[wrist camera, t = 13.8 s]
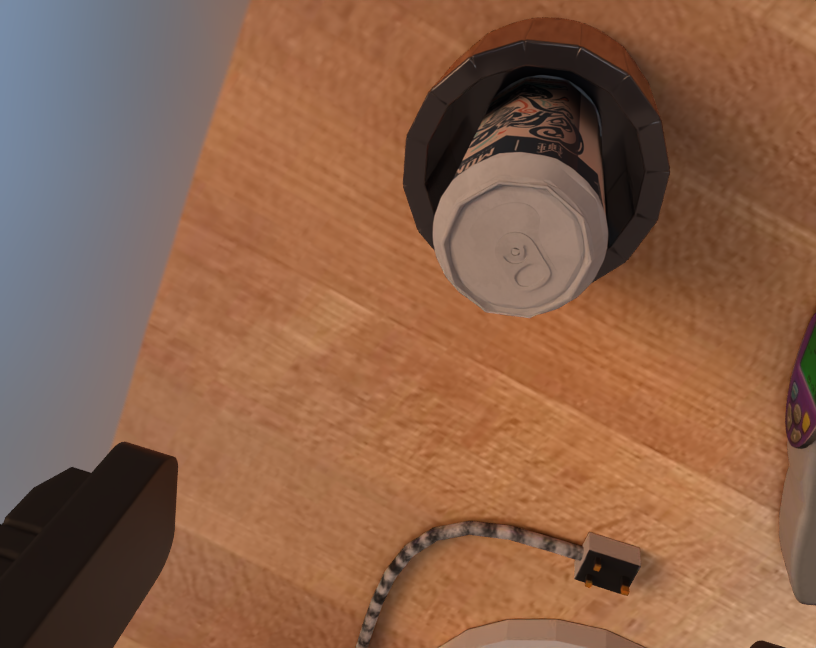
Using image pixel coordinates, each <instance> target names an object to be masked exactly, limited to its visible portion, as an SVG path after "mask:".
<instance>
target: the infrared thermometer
mask: <svg viewBox="0 0 816 648" xmlns="http://www.w3.org/2000/svg"><path fill="white" fill-rule="evenodd" d="M785 422H786V433H787V438H788V441H787V450H788V458H789V468H788V471H787V474H786V479H785V483H784V488H783V495H782V501H781V507H780V514H779V538H780V544H781V550H782V554H783V558H784V562H785V565H786V569H787V573H788V576H789V580H790V583H791V587H792V590H793V593H794V595H795V597H796V599H797V600H798V601H799V602H800V603H802V604H807V605H816V313H815V314H814V315H813V317H812V319H811V321H810V323H809V325H808V327H807V330H806V332H805V335H804V337H803V340H802V343H801V345H800V348H799V351H798V354H797V357H796V361H795V364H794V368H793V372H792V376H791V380H790V385H789V391H788V396H787V404H786V418H785Z"/></svg>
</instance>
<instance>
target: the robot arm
mask: <svg viewBox="0 0 816 648" xmlns="http://www.w3.org/2000/svg"><path fill="white" fill-rule="evenodd" d="M177 475H178V463H177V459H176V458H175V457H173V456H170V455H167V454H163V453H160V452H157V451H154V450H150V449H147V448H144V447H141V446H137V445H134V444H131V443H128V442H121V443H119V444H118V445H116V446H115V447H114V448H113V449H112V450H111V451H110V452H109V454H108V455H107V456H106V457H105V458H104V460H102V462H101V463H100V464H99V465H98V466H97V467H96V468H95V470H94V471H93V472H92V473H90V472H86V471H83V470H80V469H77V468H74V467H71V468H69V469H67V470H65V471H63V472H62V473H60V474H58V475H56V476H54V477H53V478H51V479H49V480H47V481H45V482H43V483H41V484H40V485H38V486H36V487H34V488H33V489H32V490H31V491H30V492H29V493H28V494H27V495H26V496H25V497H24V499H22V500H21V502H20V503H19V504H18V505H17V506H16V507H15V508H14V509H13V510H12V511H11V512H10V513H9V514H8V515H7V516H6V517H5V520H4V523H3V524H2V525H1V524H0V648H113V647H114V645H115V644H116V642H117V641H118V639H119V637H120V636H121V634H122V633H123V631H124V630H125V628H126V626H127V625H128V623H129V622H130V620H131V619H132V617H133V616H134V614H135V612H136V611H137V609H138V608H139V606H140V605H141V603H142V601H143V600H144V598H145V597H146V595H147V594H148V592H149V591H150V589H151V587H152V586H153V584H154V583H155V581H156V580H157V578H158V576H159V575H160V573H161V571H162V569H163V567H164V565H165V562H166V560H167V558H168V555H169V552H170V549H171V546H172V542H173V538H174V531H175V513H176V494H177ZM750 648H785V647H782V646H778V645H775V644H772V643H769V642H765V641H757V642H755V643H754V644H753V645H752V646H751V647H750Z"/></svg>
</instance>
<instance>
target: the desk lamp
mask: <svg viewBox="0 0 816 648" xmlns="http://www.w3.org/2000/svg"><path fill="white" fill-rule="evenodd" d="M465 535H476V536H484V537H492V538H500V539H508V540H512V541H515V542H519V543H522V544H526V545H529V546H533V547H536V548H540V549H543V550H546V551H550V552H553V553H556V554H560V555H563V556H566V557H569V558H572V559H575V571H574V579H576V580H579V581H582V582H585V587H588V588H590V587H591V586H592V585H594V586H597V587H600V588H604V589H607V590H610V591H613V592H616V593H619V594H622V595H626V596H628V594H629V587H630V585H631V583H632V581H633V580H634V578H635V576H636V574H637V573H638V571H639V569H640V567H641V559H640V548H638V547H634V546H631V545H628V544H625V543H622V542H619V541H616V540H612V539H609V538H606V537H603V536H600V535H597V534H594V533H590V532H589V533H588V535H587V537H586V539H585V542H584V544H583V546H578V545H575V544H572V543H569V542H566V541H563V540H559V539H556V538H553V537H549V536H546V535H542V534H539V533H535V532H532V531H528V530H525V529H521V528H518V527H514V526H510V525H501V524H493V523H484V522H476V521H466V522H460V523H455V524H450V525H444V526H439V527H434V528H432V529H430V530H429V531H427V532H426V533H424V534H422V535H421V536H419V537H418V538H416V539H415V540H413V541H411V542H410V543H408V544H407V545H405V546H404V548H403V549H402V550H401V552H400V553H399V554H398V555H397V557H396V558H395V559H394V560H393V562H392V563H391V564H390V565H389V567H388V568H387V569H386V571H385V572H384V574H383V576H382V578H381V580H380V583H379V585H378V587H377V589H376V591H375V593H374V595H373V597H372V599H371V602H370V605H369V608H368V611H367V614H366V616H365V619H364V622H363V625H362V628H361V632H360V635H359V638H358V642H357V645H356V648H368V646H369V643H370V640H371V636H372V633H373V630H374V627H375V624H376V622H377V619H378V616H379V613H380V611H381V608H382V605H383V603H384V601H385V599H386V597H387V595H388V593H389V591H390V589H391V587H392V585H393V583H394V581H395V579H396V577H397V576H398V575H399V573H400V572H401V571H402V570H403V568H404V567H405V566H406V565H407V563H408V562H409V561H410V560H411V558H412V557H413V556H414V555H416V554H417V553H419V552H420V551H422V550H424V549H425V548H427V547H428V546H430V545H432V544H433V543H435V542H436V541H438V540H443V539H449V538H454V537H460V536H465ZM439 648H644V647H642V646H640V645H638V644H636V643H633V642H631V641H629V640H627V639H625V638H622V637H620V636H618V635H616V634H614V633H611V632H609V631H607V630H604V629H599V628H594V627H590V626H585V625H580V624H576V623H571V622H566V621H562V620H557V619H516V620H505V621H501V622H497V623H493V624H489V625H485V626H481V627H476V628H472V629H468V630H466V631H465V632H463V633H462V634H460V635H458V636H457V637H455V638H453V639H452V640H450V641H449V642H447V643H445V644H444V645H442V646H440V647H439Z"/></svg>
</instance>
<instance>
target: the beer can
mask: <svg viewBox="0 0 816 648" xmlns="http://www.w3.org/2000/svg"><path fill="white" fill-rule="evenodd" d="M607 244H608V226H607V221H606V214H605V194H604V175H603V156H602V125H601V120H600V115H599V113H598V111H597V108H596V106H595V104H594V103H593V101H592V100H591V98H590V97H589V96H588V95H587V94H586V93H585V92H584V91H583V90H582V89H581V88H580V87H578V86H576V85H575V84H573V83H572V82H570V81H568V80H565V79H563V78H560V77H554V76H547V75H537V76H531V77H525V78H522V79H520V80H518V81H516V82H514V83H512V84H510V85H509V86H507V87H506V88H505V89H503V90H502V91H501V92H499V93H498V94H497V95H496V96H495V97H494V98H493V100H492V101H491V102H490V104H489V106H488V107H487V109H486V111H485V114H484V117H483V120H482V122H481V124H480V126H479V128H478V130H477V132H476V134H475V136H474V138H473V140H472V142H471V144H470V146H469V148H468V150H467V152H466V154H465V156H464V158H463V160H462V162H461V164H460V166H459V168H458V170H457V172H456V174H455V176H454V178H453V180H452V182H451V183H450V185H449V186H448V188H447V189H446V191H445V192H444V194H443V195H442V197H441V199H440V202H439V205H438V208H437V210H436V213H435V216H434V222H433V245H434V249H435V253H436V258H437V260H438V262H439V264H440V266H441V268H442V270H443V272H444V274H445V276H446V278H447V279H448V280H449V281H450V282H451V283H452V285H453V286H454V287H455V288H456V289H457V290H458V291H459V292H460V293H461V294H462V295H464V296H465V297H467V298H468V299H469V300H470V301H472V302H474V303H475V304H476V305H478V306H479V307H480V308H481V309H482V310H484V311H485V312H488V313H495V314H502V315H509V316H518V317H526V318H531V317H533V316H536V315H538V314H543V313H546V312H549V311H552V310H555V309H558V308H560V307H561V306H563V305H565V304H567V303H568V302H570V301H572V300H573V299H575V298H577V297H578V296H579V295H580V294H581V293H582V292H583V291H584V290H585V289H586V288H587V287H588V286H589V285H590V284H591V283H592V281H593V280H594V278H595V277H596V275H597V273H598V271H599V269H600V267H601V265H602V263H603V261H604V258H605V254H606V250H607Z"/></svg>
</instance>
